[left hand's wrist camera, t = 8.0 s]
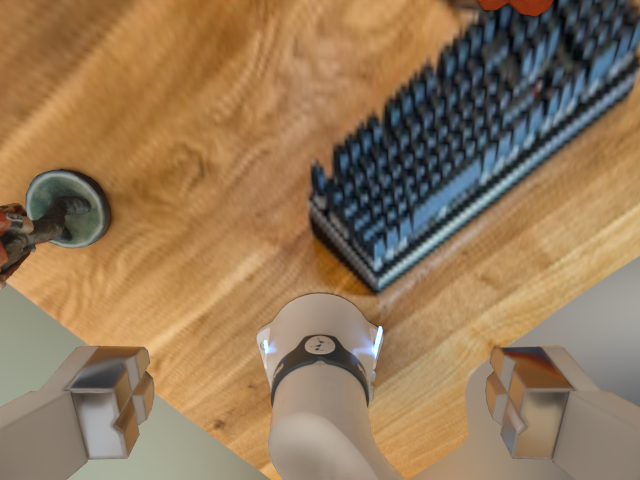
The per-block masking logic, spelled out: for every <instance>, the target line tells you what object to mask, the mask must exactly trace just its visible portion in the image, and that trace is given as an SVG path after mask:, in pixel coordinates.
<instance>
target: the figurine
mask: <svg viewBox="0 0 640 480" xmlns="http://www.w3.org/2000/svg"><path fill="white" fill-rule="evenodd" d="M26 211H27V213H26ZM27 215H28V218H27ZM109 222H110V210H109V205H108V202H107V200H106V198H105V195H104V192H103V190H102V189H101V188H100V186H99V185H98V183H97V182H95V181H94V180H93V179H91V178H90V177H88V176H85V175H83V174H81V173H79V172H74V171H65V170H63V169H60V170H52V171H48V172H44V173H42V174H39V175H38V176H36V177H35V178H34V179H33V181H32V182H31V184H30V186H29V188H28V191H27V194H26V210H25V209H24V208H23V206H22V205H20V204H19V203H12V204H8V205H4V206H0V290H1V289H2V288H4V287H5V286H6V282H5V281H6V280H7V279H8V278H9V277H10V276H11V275H12V274H13V273H14V272H15V271H16V270H17V269H18V268H19V266H20V265H21V264H22V262H23V261H24V260H25V259H26V258H27V257H28V256H29V255H30V252H35V250H36V247H35V245H36V244H40V243H45V242H50V243H53V244H55V245H57V246H61V247H65V248H81V247H86V246H88V245H91V244H92V243H94V242H96V241H97V240H98V239H99V238H101V237H102V236H103V235H104V233H105V232H106V230H107V229H108V225H109Z"/></svg>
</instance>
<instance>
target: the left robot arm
mask: <svg viewBox="0 0 640 480" xmlns="http://www.w3.org/2000/svg"><path fill="white" fill-rule="evenodd" d="M256 339H257V343H258V347H259V350H260V353H261V357H262V360H263V364H264V368H265V370H266V374H267V377H268V381H269V384H270V387H271V404H272V408H273V409H272V417H271V424H270V431H269V439H268V449H269V455H270V458H271V461H272V463H273V465H274V467H275V468H276V470H277V472H278V473H279V475H280V476H281V477H282V479H283V480H407V479H406V478H405V477H404V476H403V475H402V474H401V473H400V472H399V471H398V470H397V469H396V468H395V467H394V466H393V465H392V464H391V463H390V462H389V461H388V460H387V458H386V457H385V456H384V454H383V453H382V452H381V450H380V449H379V447H378V445H377V443H376V441H375V438H374V435H373V431H372V428H371V424H370V419H369V414H368V409H367V408H368V404H369V402H371V401H372V400H373V397H374V387H373V386H372V385H370V384H371V382H375V379H376V372H374V370H375V368H376V364H377V360H378V357H379V353H380V350H381V347H382V343H383V339H384V336H383V332H382V327H379V328H378V327H376V326H375V325H373V324H371V323H369V322H368V321H367V320H366V319H365V317H364V316H363V315H362V313H361V312H360V311H359V309H358V308H357V307H356V306H354V305H353V304H352V303H351V302H349V301H347V300H346V299H344V298H341V297H339V296H335V295H331V294H324V293H316V294H309V295H305V296H301V297H299V298H297V299H294V300H293V301H291V302H289V303H288V304H287V305H286V306H284V307H283V308H282V309H281V311H280V312H279V313H278V315H277V316H276V317H275V319H274V320H273V321H272V322H271V323H269V324H267V325H265V326H264V327H262V328H261V329H259V330H258V332H257V337H256ZM373 342H375V344H374V343H373ZM149 364H150V359H149V354H148V350H147V349H146V348H145V347H124V346H81V347H78V348H76V349H75V350H74V351H73V352H72V353H71V354H70V355H69V357H68V358H67V359H66V360H65V361H64V362H63V363H62V365H61V366H60V367H59V368H58V369H57V370H56V371H55V373H54V374H53V375H52V376H51V377H50V378H49V379H48V381H47V382H46V383H45V384H44V385H43V386H42V387H41V389H40V390H39V391H31V392H29V393H27V394H25V395H23V396H21V397H19V398H17V399H15V400H13V401H11V402H9V403H7V404H5V405H3V406H1V407H0V480H67V479H68V478H69V477H70V476H72V475H73V474H74V473H75V472H76V471H77V470H79V469H80V468H81V467H82V466H83V465H85V464H86V463H87V462H88V460H94V459H127V458H128V457H129V455H130V452H131V450H132V448H133V446H134V444H135V442H136V440H137V438H138V436H139V429H138V425H140V424H141V423H142V422H144V421H145V420H147V418H148V416H149V414H150V412H151V409H152V405H153V400H154V382H153V378H152V377H151V376H150V375H149V374H148V373H147V372H146V369H147V367H148V365H149ZM490 364H491V365H492V367H493V369H494V372H493V373H492V374H491V375H490V376H489V377H488V378H487V383H486V401H487V405H488V409H489V412H490V414H491V416H492V418H493V420H495V421H496V422H498V423H499V424H500V425H502V429H501V436H502V438H503V440H504V442H505V444H506V446H507V448H508V450H509V452H510V454H511V456H512V458H513V459H546V460H552V462H553V463H555V464H556V465H557V466H558V467H559V468H560V469H562V470H563V471H564V472H565V473H566V474H567V475H569V476H570V477H571V478H572V479H573V480H640V407H639V406H637V405H635V404H633V403H631V402H629V401H627V400H625V399H623V398H621V397H619V396H617V395H615V394H613V393H611V392H609V391H601V390H600V389H599V387H598V386H597V385H596V384H595V383H594V382H593V381H592V379H591V378H590V377H589V376H588V375H587V374H586V373H585V371H584V370H583V369H582V368H581V367H580V366H579V365H578V363H577V362H576V361H575V360H574V359H573V358H572V357H571V355H570V354H569V353H568V352H567V351H566V350H565V349H564V348H563V347H561V346H538V347H494V349H493V351H492V353H491V358H490Z"/></svg>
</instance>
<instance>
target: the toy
mask: <svg viewBox="0 0 640 480" xmlns="http://www.w3.org/2000/svg"><path fill="white" fill-rule="evenodd" d="M477 1H478V3H479V4H480V6H481V7H482V9H483V10H497V9H499V8H500V7H502V6H504V5H505V4H507V3H508V4H509V5H510V6H512V7H513V8H514V9H515V10H516V11H518V12H519V13H520V14H524V15H529V16H537V15H539V14H541V13H542V12H544V11H546V10H548V9H549V7H550V6H551V4H552V2H553V0H477Z"/></svg>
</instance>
